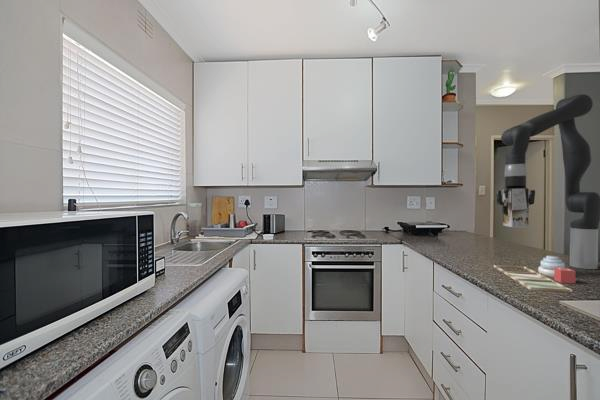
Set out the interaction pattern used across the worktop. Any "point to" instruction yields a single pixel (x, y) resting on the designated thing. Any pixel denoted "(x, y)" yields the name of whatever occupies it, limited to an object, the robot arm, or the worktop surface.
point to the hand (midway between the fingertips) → (515, 214)
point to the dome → (552, 262)
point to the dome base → (546, 271)
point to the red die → (564, 275)
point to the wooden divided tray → (533, 280)
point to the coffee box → (516, 208)
